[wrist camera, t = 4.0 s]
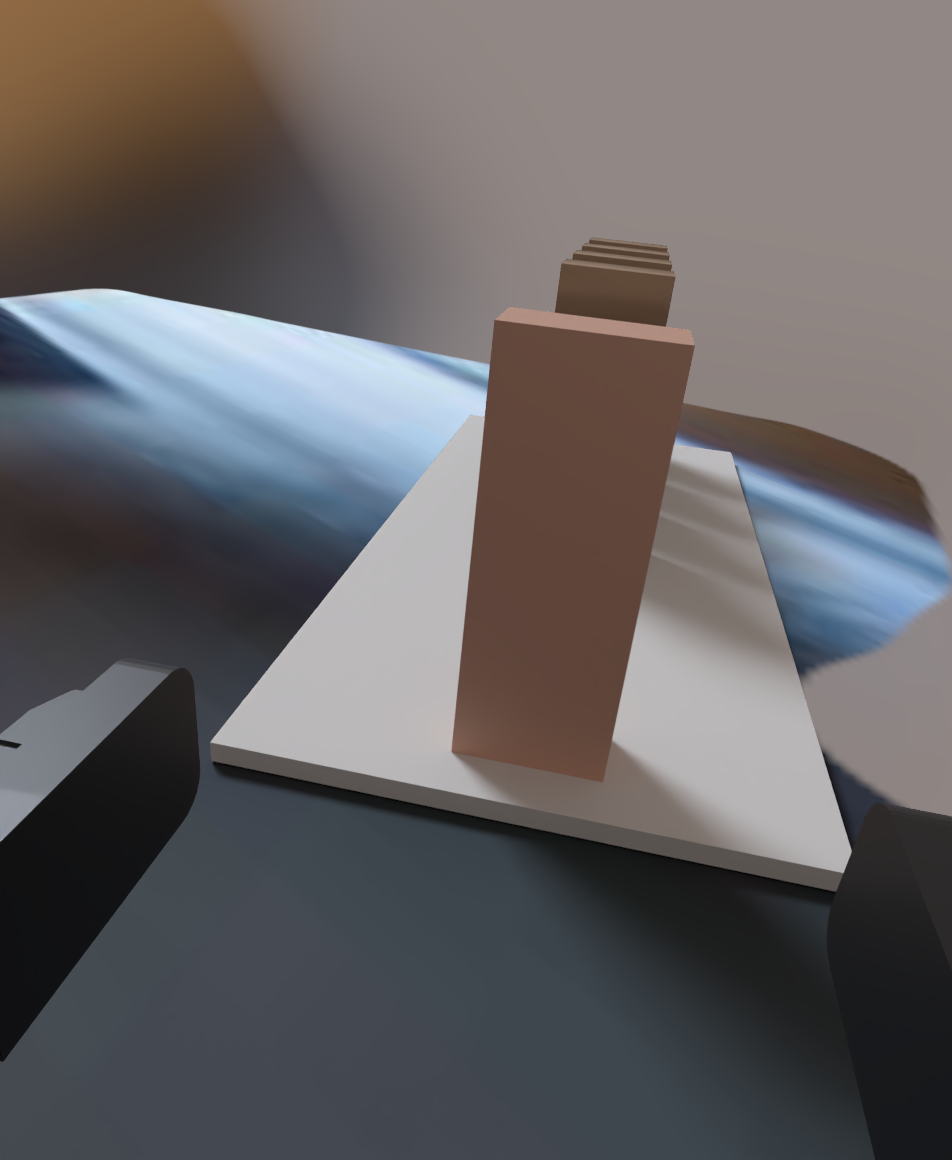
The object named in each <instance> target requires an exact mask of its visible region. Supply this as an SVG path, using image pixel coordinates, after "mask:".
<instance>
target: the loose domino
mask: <svg viewBox="0 0 952 1160" xmlns="http://www.w3.org/2000/svg"><path fill="white" fill-rule="evenodd" d="M694 347H695V345H694V341H693V338H692V334H691V331H690V330H687V329H679V328H671V327H663V326H656V325H648V324H640V323H632V322H624V321H616V320H608V319H600V318H592V317H584V316H576V315H569V314H561V313H553V312H544V311H537V310H529V309H521V308H513V307H509V308H508V309H507V310H506V311H505V312H503V313H502V314H501V315H500V316H499V317H497V318H496V319H495V321H494V332H493V341H492V351H491V361H490V371H489V381H488V391H487V401H486V411H485V421H484V430H483V440H482V450H481V460H480V470H479V480H478V490H477V500H476V510H475V520H474V530H473V540H472V550H471V560H470V570H469V580H468V590H467V600H466V610H465V620H464V630H463V640H462V650H461V660H460V670H459V680H458V690H457V700H456V710H455V719H454V729H453V739H452V749H451V752H454V753H459V754H464V755H469V756H474V757H479V758H484V759H489V760H494V761H499V762H504V763H509V764H514V765H519V766H524V767H529V768H534V769H539V770H544V771H549V772H554V773H559V774H564V775H569V776H574V777H579V778H584V779H589V780H594V781H599V782H603V780H604V776H605V771H606V766H607V761H608V757H609V752H610V747H611V742H612V738H613V733H614V728H615V723H616V718H617V714H618V709H619V704H620V699H621V695H622V690H623V685H624V680H625V676H626V671H627V666H628V661H629V656H630V652H631V647H632V642H633V637H634V633H635V628H636V623H637V618H638V614H639V609H640V604H641V599H642V595H643V590H644V585H645V580H646V575H647V571H648V566H649V561H650V556H651V552H652V547H653V542H654V537H655V533H656V528H657V523H658V518H659V513H660V509H661V504H662V499H663V494H664V490H665V485H666V480H667V475H668V471H669V466H670V461H671V456H672V451H673V447H674V442H675V437H676V432H677V428H678V423H679V418H680V413H681V409H682V404H683V398H684V394H685V390H686V384H687V380H688V375H689V370H690V366H691V361H692V356H693V351H694Z"/></svg>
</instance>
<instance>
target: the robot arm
mask: <svg viewBox="0 0 952 1160" xmlns="http://www.w3.org/2000/svg"><path fill="white" fill-rule="evenodd" d="M199 778H200V760H199V747H198V733H197V720H196V706H195V693H194V683H193V679H192V676H191V674H190V672H189V671H188V670H186V669H185V668H180V667H174V666H169V665H164V664H159V663H153V662H148V661H143V660H138V659H132V658H123V659H121V660H119V661H118V662H116V663H115V664H114V665H113V666H111V667H110V668H109V669H108V670H107V671H106V672H104V673H103V674H102V675H101V676H100V677H99V678H98V679H96V680H95V681H94V682H93V683H92V684H91V685H90V686H88V687H87V688H86V689H85V690H84V691H79V690H72V691H70V692H68V693H65V694H63V695H61V696H59V697H57V698H55V699H53V700H50V701H48V702H46V703H44V704H42V705H40V706H38V707H36V708H33V709H31V710H29V711H28V712H27V713H26V714H24V715H23V716H22V717H21V718H20V719H18V720H17V721H16V722H15V723H13V724H12V725H11V726H10V727H9V728H7V729H6V730H5V731H4V732H3V733H1V734H0V1061H2V1062H3V1061H4V1060H5V1058H6V1057H7V1056H8V1054H9V1053H10V1052H11V1050H12V1049H13V1048H14V1046H15V1045H16V1044H17V1042H18V1041H19V1040H20V1038H21V1037H22V1036H23V1034H24V1033H25V1032H26V1030H27V1029H28V1028H29V1026H30V1025H31V1024H32V1022H33V1021H34V1020H35V1018H36V1017H37V1016H38V1014H39V1013H40V1012H41V1010H42V1009H43V1008H44V1006H45V1005H46V1004H47V1002H48V1001H49V1000H50V998H51V997H52V996H53V994H54V993H55V992H56V990H57V989H58V988H59V986H60V985H61V984H62V982H63V981H64V980H65V978H66V977H67V976H68V974H69V973H70V972H71V970H72V969H73V968H74V966H75V965H76V964H77V962H78V961H79V960H80V958H81V957H82V956H83V954H84V953H85V952H86V950H87V949H88V948H89V946H90V945H91V944H92V942H93V941H94V940H95V938H96V937H97V936H98V934H99V933H100V932H101V930H102V929H103V928H104V926H105V925H106V924H107V922H108V921H109V920H110V918H111V917H112V916H113V914H114V913H115V912H116V910H117V909H118V908H119V906H120V905H121V904H122V902H123V901H124V900H125V898H126V897H127V896H128V894H129V893H130V892H131V890H132V889H133V888H134V886H135V885H136V884H137V882H138V881H139V880H140V878H141V877H142V876H143V874H144V873H145V872H146V870H147V869H148V868H149V866H150V865H151V864H152V862H153V861H154V860H155V858H156V857H157V856H158V854H159V853H160V852H161V850H162V849H163V848H164V846H165V845H166V844H167V842H168V841H169V840H170V838H171V837H172V836H173V834H174V833H175V832H176V830H177V829H178V828H179V826H180V825H181V824H182V822H183V821H184V819H185V818H186V816H187V814H188V813H189V811H190V809H191V806H192V804H193V802H194V799H195V796H196V793H197V789H198V784H199ZM827 949H828V958H829V963H830V968H831V972H832V976H833V981H834V985H835V989H836V994H837V998H838V1002H839V1006H840V1011H841V1015H842V1019H843V1024H844V1028H845V1032H846V1036H847V1041H848V1045H849V1049H850V1053H851V1058H852V1062H853V1066H854V1070H855V1075H856V1079H857V1083H858V1088H859V1092H860V1096H861V1100H862V1105H863V1109H864V1113H865V1118H866V1122H867V1126H868V1130H869V1135H870V1139H871V1143H872V1147H873V1152H874V1156H875V1160H952V817H951V816H947V815H941V814H936V813H931V812H926V811H920V810H915V809H910V808H905V807H899V806H894V805H889V804H884V803H876V804H874V805H873V806H872V807H871V808H870V809H869V811H868V813H867V815H866V817H865V819H864V822H863V824H862V827H861V829H860V832H859V834H858V837H857V840H856V842H855V845H854V847H853V850H852V852H851V855H850V858H849V860H848V863H847V865H846V868H845V870H844V873H843V875H842V878H841V881H840V883H839V886H838V888H837V891H836V893H835V896H834V899H833V902H832V905H831V909H830V913H829V919H828V929H827Z"/></svg>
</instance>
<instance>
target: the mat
mask: <svg viewBox="0 0 952 1160" xmlns="http://www.w3.org/2000/svg"><path fill="white" fill-rule="evenodd" d="M484 421H485V417H481V416H474V415H470V416H469V417H468V418H467V420H466V421H465V422H464V424H463V425H462V426H461V427H460V429H459V430H458V431H457V432H456V434H455V435H454V436H453V437H452V439H451V440H450V441H449V442H448V444H447V445H446V446H445V447H444V449H443V450H442V451H441V452H440V454H439V455H438V456H437V458H436V459H435V460H434V461H433V463H432V464H431V465H430V466H429V468H428V469H427V470H426V471H425V473H424V474H423V475H422V476H421V478H420V479H419V480H418V481H417V483H416V484H415V485H414V486H413V488H412V489H411V490H410V492H409V493H408V494H407V495H406V497H405V498H404V499H403V500H402V502H401V503H400V504H399V505H398V507H397V508H396V509H395V510H394V512H393V513H392V514H391V515H390V517H389V518H388V519H387V520H386V522H385V523H384V524H383V525H382V527H381V528H380V529H379V531H378V532H377V533H376V534H375V536H374V537H373V538H372V539H371V541H370V542H369V543H368V544H367V546H366V547H365V548H364V549H363V551H362V552H361V553H360V554H359V556H358V557H357V558H356V559H355V561H354V562H353V563H352V565H351V566H350V567H349V568H348V570H347V571H346V572H345V573H344V575H343V576H342V577H341V578H340V580H339V581H338V582H337V583H336V585H335V586H334V587H333V588H332V590H331V591H330V592H329V593H328V595H327V596H326V597H325V599H324V600H323V601H322V602H321V604H320V605H319V606H318V607H317V609H316V610H315V611H314V612H313V614H312V615H311V616H310V617H309V619H308V620H307V621H306V622H305V624H304V625H303V626H302V627H301V629H300V630H299V631H298V632H297V634H296V635H295V636H294V638H293V639H292V640H291V641H290V643H289V644H288V645H287V646H286V648H285V649H284V650H283V651H282V653H281V654H280V655H279V656H278V658H277V659H276V660H275V661H274V663H273V664H272V665H271V666H270V668H269V669H268V670H267V672H266V673H265V674H264V675H263V677H262V678H261V679H260V680H259V682H258V683H257V684H256V685H255V687H254V688H253V689H252V690H251V692H250V693H249V694H248V695H247V697H246V698H245V699H244V700H243V702H242V703H241V704H240V706H239V707H238V708H237V709H236V711H235V712H234V713H233V714H232V716H231V717H230V718H229V719H228V721H227V722H226V723H225V724H224V726H223V727H222V728H221V729H220V731H219V732H218V733H217V734H216V736H215V737H214V738H213V740H212V741H211V742H210V746H211V761H215V762H219V763H224V764H229V765H234V766H238V767H243V768H248V769H253V770H258V771H262V772H267V773H272V774H277V775H281V776H286V777H291V778H296V779H300V780H305V781H310V782H315V783H320V784H324V785H329V786H334V787H339V788H343V789H348V790H353V791H358V792H362V793H367V794H372V795H377V796H382V797H386V798H391V799H396V800H401V801H405V802H410V803H415V804H420V805H425V806H429V807H434V808H439V809H444V810H448V811H453V812H458V813H463V814H467V815H472V816H477V817H482V818H487V819H491V820H496V821H501V822H506V823H510V824H515V825H520V826H525V827H529V828H534V829H539V830H544V831H549V832H553V833H558V834H563V835H568V836H572V837H577V838H582V839H587V840H592V841H596V842H601V843H606V844H611V845H615V846H620V847H625V848H630V849H634V850H639V851H644V852H649V853H654V854H658V855H663V856H668V857H673V858H677V859H682V860H687V861H692V862H696V863H701V864H706V865H711V866H716V867H720V868H725V869H730V870H735V871H739V872H744V873H749V874H754V875H758V876H763V877H768V878H773V879H778V880H782V881H787V882H792V883H797V884H801V885H806V886H811V887H816V888H821V889H825V890H830V891H835V892H836V891H837V888H838V886H839V883H840V881H841V878H842V875H843V873H844V870H845V868H846V865H847V863H848V860H849V858H850V855H851V852H852V851H851V847H850V844H849V841H848V837H847V834H846V831H845V828H844V824H843V821H842V818H841V814H840V811H839V808H838V804H837V801H836V798H835V795H834V791H833V788H832V785H831V781H830V778H829V775H828V771H827V768H826V765H825V762H824V758H823V755H822V752H821V748H820V745H819V742H818V739H817V735H816V732H815V729H814V725H813V722H812V719H811V715H810V712H809V709H808V706H807V702H806V699H805V696H804V692H803V689H802V686H801V682H800V679H799V676H798V673H797V669H796V666H795V663H794V659H793V656H792V653H791V649H790V646H789V643H788V640H787V636H786V633H785V630H784V626H783V623H782V620H781V616H780V613H779V610H778V607H777V603H776V600H775V597H774V593H773V590H772V587H771V583H770V580H769V577H768V574H767V570H766V567H765V564H764V560H763V557H762V554H761V550H760V547H759V544H758V541H757V537H756V534H755V531H754V527H753V524H752V521H751V517H750V514H749V511H748V508H747V504H746V501H745V498H744V494H743V491H742V488H741V484H740V481H739V478H738V475H737V471H736V468H735V465H734V461H733V458H732V455H731V453H730V452H723V451H716V450H709V449H702V448H695V447H688V446H682V445H675V444H674V447H673V451H672V456H671V461H670V466H669V471H668V475H667V480H666V485H665V490H664V494H663V499H662V504H661V509H660V513H659V518H658V523H657V528H656V533H655V537H654V542H653V547H652V552H651V556H650V561H649V566H648V571H647V575H646V580H645V585H644V590H643V595H642V599H641V604H640V609H639V614H638V618H637V623H636V628H635V633H634V637H633V642H632V647H631V652H630V656H629V661H628V666H627V671H626V676H625V680H624V685H623V690H622V695H621V699H620V704H619V709H618V714H617V718H616V723H615V728H614V733H613V738H612V742H611V747H610V752H609V757H608V761H607V766H606V771H605V776H604V780H603V782H599V781H594V780H589V779H584V778H579V777H574V776H569V775H564V774H559V773H554V772H549V771H544V770H539V769H534V768H529V767H524V766H519V765H514V764H509V763H504V762H499V761H494V760H489V759H484V758H479V757H474V756H469V755H464V754H459V753H454V752H451V749H452V739H453V729H454V719H455V710H456V700H457V690H458V680H459V670H460V660H461V650H462V640H463V630H464V620H465V610H466V600H467V590H468V580H469V570H470V560H471V550H472V540H473V530H474V520H475V510H476V500H477V490H478V480H479V470H480V460H481V450H482V440H483V430H484Z"/></svg>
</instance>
